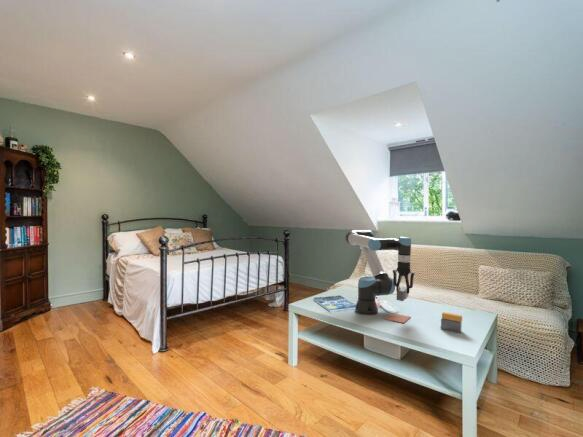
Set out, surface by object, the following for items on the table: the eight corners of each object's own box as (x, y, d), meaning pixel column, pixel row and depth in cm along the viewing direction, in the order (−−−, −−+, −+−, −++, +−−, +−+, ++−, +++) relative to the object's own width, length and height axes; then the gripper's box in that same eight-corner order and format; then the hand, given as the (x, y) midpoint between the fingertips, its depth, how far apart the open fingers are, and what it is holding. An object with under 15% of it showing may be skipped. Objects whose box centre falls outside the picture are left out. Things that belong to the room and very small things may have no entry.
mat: (384, 319, 196) (384, 318, 196) (392, 313, 207) (392, 312, 207) (403, 323, 188) (403, 322, 188) (410, 317, 199) (410, 316, 199)
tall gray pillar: (396, 299, 193) (396, 290, 192) (402, 295, 202) (402, 286, 202) (402, 301, 190) (403, 291, 190) (408, 296, 200) (408, 287, 200)
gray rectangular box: (441, 329, 180) (441, 318, 180) (442, 327, 183) (442, 317, 183) (460, 333, 174) (460, 322, 174) (461, 331, 177) (461, 320, 177)
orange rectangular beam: (442, 318, 180) (442, 313, 180) (443, 317, 182) (443, 312, 182) (461, 322, 174) (461, 316, 174) (462, 320, 176) (462, 315, 176)
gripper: (388, 260, 197) (387, 296, 198) (416, 264, 187) (414, 301, 188) (392, 258, 203) (391, 293, 204) (419, 262, 193) (417, 298, 194)
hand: (402, 297), depth 196 cm, fingers closed on tall gray pillar, 4 cm apart
